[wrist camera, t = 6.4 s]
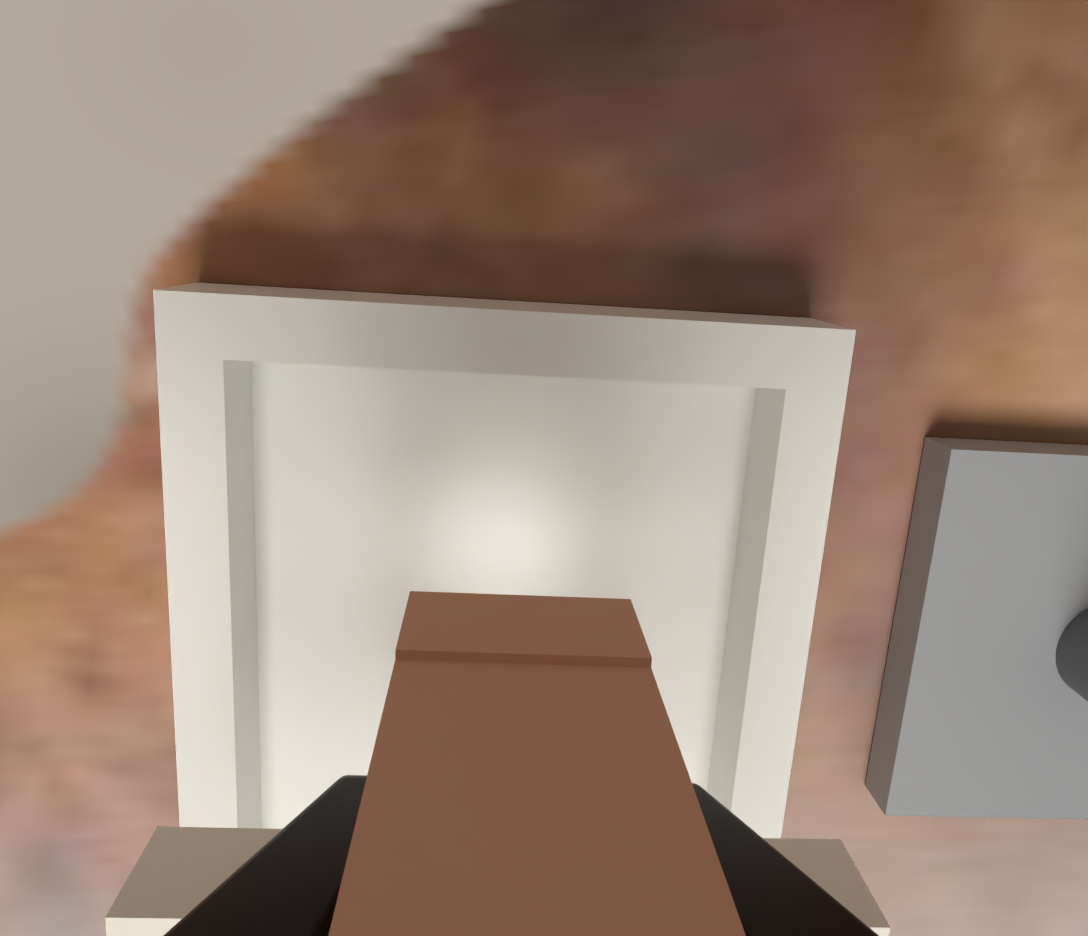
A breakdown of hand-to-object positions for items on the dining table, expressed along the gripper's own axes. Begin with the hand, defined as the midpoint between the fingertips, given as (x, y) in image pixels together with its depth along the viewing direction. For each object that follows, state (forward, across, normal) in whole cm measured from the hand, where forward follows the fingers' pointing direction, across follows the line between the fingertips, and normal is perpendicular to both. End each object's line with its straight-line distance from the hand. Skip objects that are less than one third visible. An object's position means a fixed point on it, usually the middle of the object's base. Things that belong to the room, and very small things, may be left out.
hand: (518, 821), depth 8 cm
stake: (+12, -14, +3) cm, 19 cm away
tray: (+12, 0, +4) cm, 13 cm away
